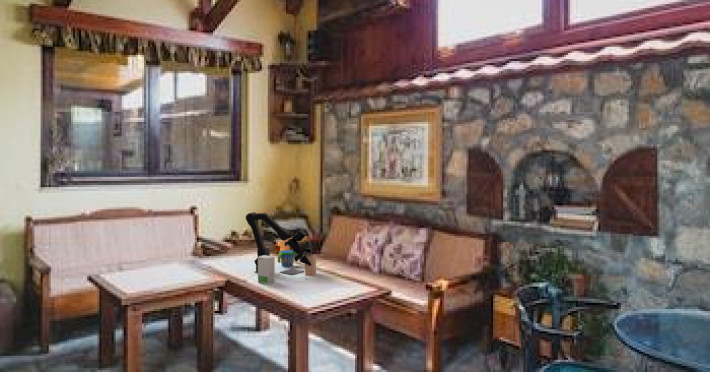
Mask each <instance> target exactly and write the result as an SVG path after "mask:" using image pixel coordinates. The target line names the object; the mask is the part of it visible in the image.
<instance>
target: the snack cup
mask: <svg viewBox="0 0 710 372" xmlns="http://www.w3.org/2000/svg"><path fill="white" fill-rule="evenodd" d="M278 253H279V254H277V255H278V256H277V263H279V264H280V263H281V266H282V267H284V268H289V267H293V266H294V261H295V260H294V258H295V257H296V255H297V254H296V253H295V252H293V250H292V249H284V250H280V251H279V252H278Z"/></svg>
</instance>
